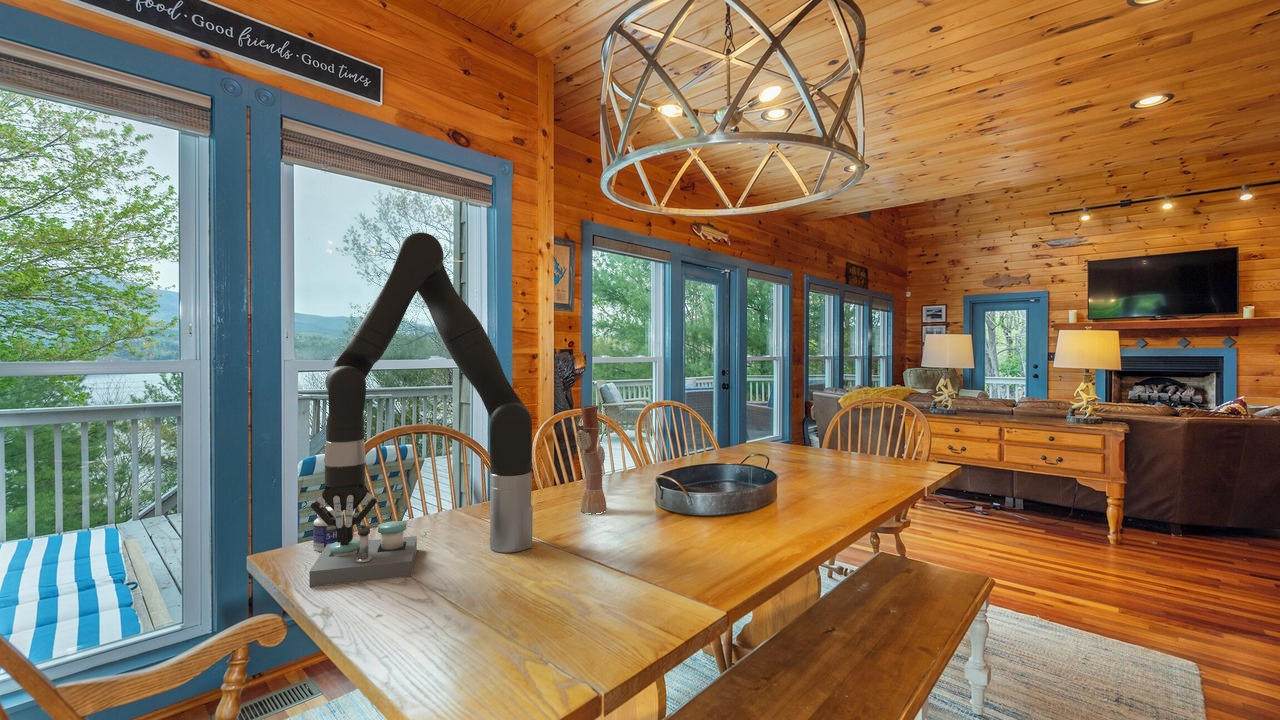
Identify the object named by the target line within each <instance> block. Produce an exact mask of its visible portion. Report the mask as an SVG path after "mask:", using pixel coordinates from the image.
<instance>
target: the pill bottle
mask: <svg viewBox="0 0 1280 720" xmlns="http://www.w3.org/2000/svg"><path fill="white" fill-rule="evenodd" d="M325 507H326V509H327V510H328V511H329V512H330V513H331V514H332V515H333V516H334V517H335V511H334V510H333V509H332V508H331V507H330V506H325ZM316 516H317V518H316V519H314V520H313V528H312V529H313V532H312V533H313V535H312V536H313V542H312V543H313V544H312V545H313V551H316V552H323V550H324V549H325V547H326V546H327V544H331V543H335V542H338V541H337V527H336V526H333V525H331V526H328V525H327V524H326V523H325V522H324V521H323V520H322V519H321V518H320V516H319V515H318V514H317V513H316Z"/></svg>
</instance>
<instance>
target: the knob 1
mask: <svg viewBox="0 0 1280 720" xmlns="http://www.w3.org/2000/svg"><path fill="white" fill-rule="evenodd" d="M359 548H360V539H352V541H351V542H350V543H349V544H348V545H340V543H338V542H335V543H333V544H331V545H330V552H332V553H334V556H344V555H355V554H357V550H358V549H359Z"/></svg>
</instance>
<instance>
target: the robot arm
mask: <svg viewBox="0 0 1280 720" xmlns="http://www.w3.org/2000/svg"><path fill="white" fill-rule="evenodd" d="M397 253H398V254H397V255H396V259H395V261H394V264H393V266H392V269H391V270H390V273H389V276H388V278H387V279H386V280H385V283H384V285H383V287H382V288H381V290H380V292H379V293H378V296H376V298H375V300H374V301H373V303H372V305H371V306H370V307H369V309H368V311H367V312H366V313H365V315H364V316H363V318H362V320H361V321H360V322H359V325H358V327H357V328H356V329H355V331H354V332H353V334H352V335H351V337H350V340H349V342H348V344H347V346H346V348H345V349H344V350H343V352H341V354H340V355H339V357H338V358H337V359H336V360H335V362H334V364H333V365H332V367H331V368H330V369H329V371H328V373H327V375H326V377H325V381H324V385H325V387H326V390H327V394H328V399H327V400H328V415H327V417H326V427H325V431H326V433H325V438H326V439H325V449H324V457H323V462H324V489H323V491H322V493H321V496H320V497H319V498H317V499H315V500H313V502H311V504H310V508H311V509H312V510H313V512H314V513H316V515H317V514H318V515H319V516H320V518H321V519H322V520H323V521H324V522H325V523H326V524H327V525H328V526H331V525H333V526H336V527H337V541H338V543H340V545H348V544H349V543H350V542H351V541H352V540H354V526H355V525H357V524H360V523H361V522H363V520H364V519H365V518H366V516H367V515H368V514H369V513H370V512H371V510H372V509H373V507H374V506H375V505H376V504H377V502H378V501H379V497H378V496H376V495H372V493H371V494H370V493H369V489H368V487H367V485H366V446H365V422H364V421H365V420H364V414H365V413H364V411H365V406H366V398H367V397H366V395H367V382H366V381H367V376H368V375H369V373H370V372H371V370H372V368H373V367H374V365H375V363H377V362H378V361H379V360H380V359H381V358H382V357H383V355H384V354H385V352H386V350H387V349H388V347H389V345H390V343H391V342H392V340H393V338H394V336H395V335H396V333H397V331H398V329H399V327H400V326H401V323H402V321H403V319H404V316H405V314H406V312H407V311H408V308H409V306H410V304H411V303H412V300H413V298H414V297H415V295H416V294H417V293H418V294H419V296H420V297H421V298H422V300H423V302H424V303H425V305H426V307H427V309H428V311H429V313H430V317H431V319H432V320H433V323H434V325H435V327H436V330H437V332H438V334H439V335H440V338H441V339H442V340H441V341H443V344H444V346H445V348H446V349H447V351H448V353H449V355H450V356H451V358H452V360H453V361H454V363H455V365H456V366H457V367H458V369H459V370H460V372H461V373H462V374H463V376H464V377H465V378H466V379H467V380H468V382H469V383H470V384H471V385H472V386H473V388H474V389H475V390H476V392H477V394H478V396H479V397H480V399H481V401H482V402H483V406H484V407H485V410H486V412H487V414H488V418H489V421H490V422H489V465H490V471H489V473H490V474H489V475H490V477H489V478H490V480H489V481H490V482H489V483H490V484H489V485H490V487H489V488H490V489H489V492H490V493H489V494H490V495H489V500H490V501H489V503H490V506H489V507H490V508H489V509H490V510H489V515H490V516H489V520H490V521H489V535H490V536H489V545H490V546H489V548H490V550H491V551H493V552H498V553H516V552H522V551H525V550H528V549H533V520H534V519H533V515H534V514H533V511H534V509H533V505H532V462H533V461H532V459H533V456H532V455H533V454H532V453H533V452H532V451H533V449H532V448H533V444H532V443H533V442H532V441H533V423H532V422H533V420H532V416H531V413H530V411H529V409H528V407H527V406H526V405H525V404H524V403H523V401H522V400H521V399H520V397H519V396H518V394H517V393H516V391H515V389H514V388H513V387H512V385H511V383H510V382H509V380H508V378H507V377H506V374H505V372H504V370H503V368H502V365H501V362H500V360H499V357H498V354H497V353H496V351H495V348H494V346H493V344H492V342H491V340H490V338H489V336H488V334H487V333H486V330H485V329H484V327H483V325H482V323H481V322H480V320H479V319H478V317H477V316H476V314H475V313H474V312H473V311H472V309H471V307H469V306H468V304H467V303H466V302H465V301H464V300H463V298H462V297H461V296H460V295H459V294H458V292H457V291H456V289H455V287H454V285H453V283H452V281H451V280H450V279H451V278H450V277H449V275H448V272H447V270H446V268H445V265H444V250H443V246H442V244H441V243H440V241H439V240H438V239H437V238H436V237H435V236H434V235H432V234H430V233H428V232H421V231H420V232H414V233H412V234H409V235H408V236H406V237H405V238H404V239H403V240H402V241H401V244H400V246H399V248H398V252H397ZM364 499H365V501H364V507H363V508H362V510H361V511H360V512H359V513H358V515H356V516H355V512H356V509H357V508H358V506H360V504H361V503H362V502H363V500H364ZM326 505H328V507H331V508H332V509H333V510H334V511H335V517H334V516H333V515H332V514H331V513H330V512H329V511H328V510H327V509H326V507H327V506H326Z"/></svg>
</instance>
